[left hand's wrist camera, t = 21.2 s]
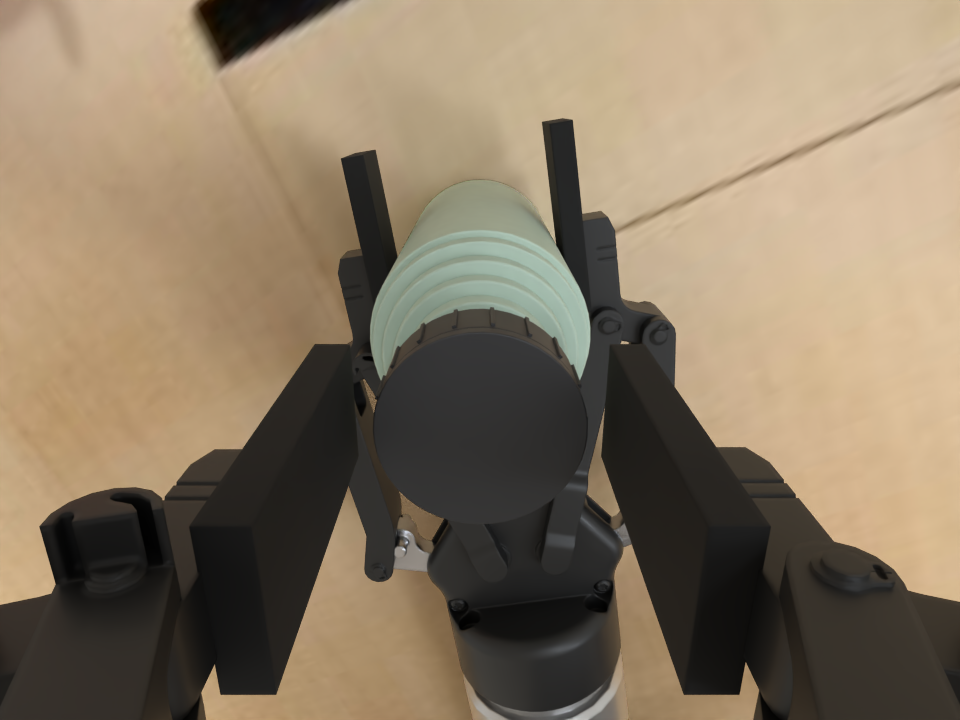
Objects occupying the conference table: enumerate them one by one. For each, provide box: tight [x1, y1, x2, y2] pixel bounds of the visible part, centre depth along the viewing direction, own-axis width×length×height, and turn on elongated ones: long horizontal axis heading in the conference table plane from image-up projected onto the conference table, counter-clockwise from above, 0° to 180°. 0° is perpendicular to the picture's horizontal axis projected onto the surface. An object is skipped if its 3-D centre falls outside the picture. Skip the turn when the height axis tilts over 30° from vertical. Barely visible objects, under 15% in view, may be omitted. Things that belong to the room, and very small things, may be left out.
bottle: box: [370, 180, 590, 380], centre depth 22 cm, size 6×6×18 cm
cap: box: [373, 307, 588, 524], centre depth 14 cm, size 4×4×2 cm
